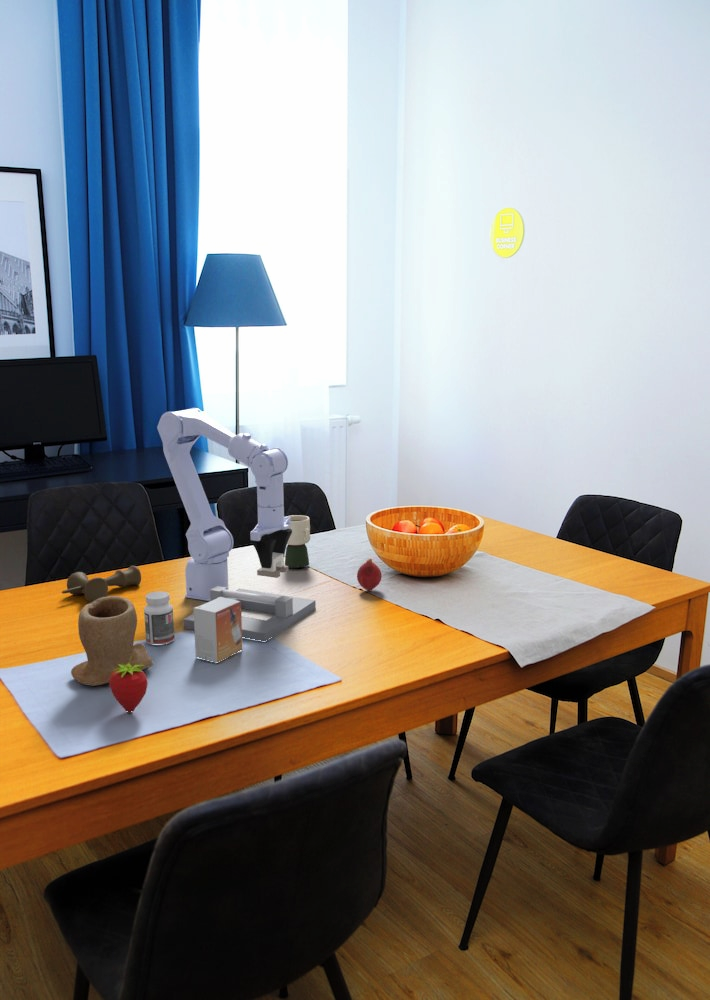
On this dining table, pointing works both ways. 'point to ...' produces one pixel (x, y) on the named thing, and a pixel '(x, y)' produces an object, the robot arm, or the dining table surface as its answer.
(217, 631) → the small box
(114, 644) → the stone cup
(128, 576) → the kendama
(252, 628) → the grey piece
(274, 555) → the white notched u-block
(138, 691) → the strawberry
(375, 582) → the onion
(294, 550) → the character mug
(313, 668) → the dining table surface
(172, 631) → the pill bottle
